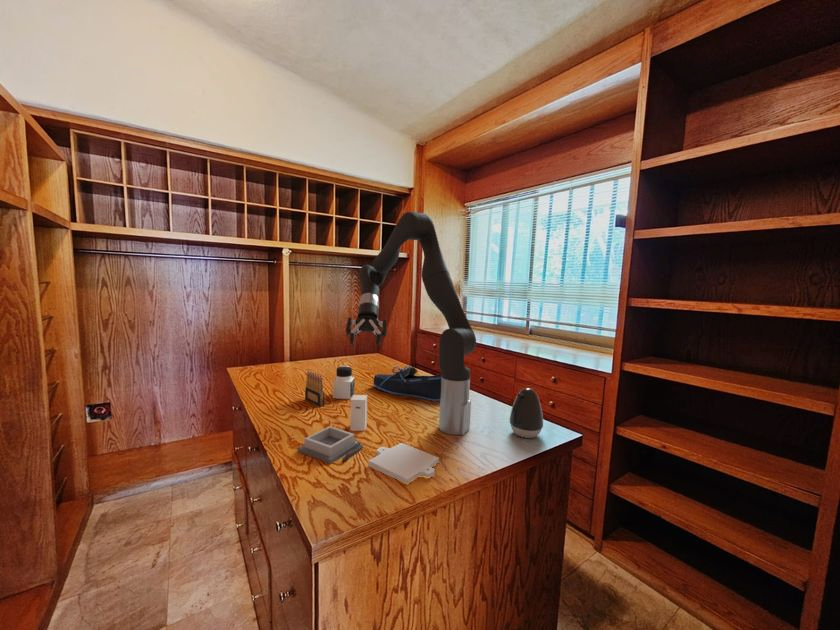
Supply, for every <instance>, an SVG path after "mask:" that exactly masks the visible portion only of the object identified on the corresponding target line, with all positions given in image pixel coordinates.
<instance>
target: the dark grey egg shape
mask: <svg viewBox="0 0 840 630" xmlns="http://www.w3.org/2000/svg"><path fill="white" fill-rule="evenodd" d="M509 424H510V427H511V430H512V431H513V432H514V434H515V435H517V436H519V437H520V436H521V438H523V437H525V439H532V438H536V437H537V436H538V435H539V434H540V433H541V432H542V430H543V427H544V414H543V410H542V405H541V402H540V398H539V396H538V394H537V392H536V391H535V390H534V389H533V388H531V387H524V388H522V389H520V391H519V392H518V393H517V395H516V397H515V399H514V401H513V404H512V407H511V410H510V415H509Z"/></svg>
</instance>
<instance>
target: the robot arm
mask: <svg viewBox="0 0 840 630" xmlns="http://www.w3.org/2000/svg"><path fill="white" fill-rule="evenodd" d="M408 240H409V241H410V240H412V241H419V245H420V246H421V249H422V251H423V262H422V267H421V268H422V269H421V280H422V283H423V285H424V289H425V291H426V293H427V297H428V298H429V300H430V301H431V302H432V303H433V305H435V307H436V308H437V309H438V310H439V311H440V312H441V314H442V316H443V317H444V319H445V321H446V323H447V326H448V328H446V329H445V330H444V331H442V333H441V335H440V338H439V341H438V365H439V369H440V372H441V373H440V375H441V393H440V401H439V419H438V420H439V421H438V423H439V424H438V429H439V431H440V432H442V433H445V434H447V435H451V436H452V435H453V436H454V435H455V436H456V435H459V436H464V435H465V434H466V433H467V432H468V431H469V430H470V429H471V409H472V408H471V407H472V400H470V388H471V387H470V386H471V370H470V368H468V367H466V366H465V356H466V355H469V354H471V353H473V352H474V351H475V349H476V346H477V337H476V335H475V331H474V329H473V327H472V326H471V324H470V321H469V319H468V318H467V316H466V313H465V310H464V309H463V307H462V303H461V301H460V299H459V296H458V293H457V291H456V288H455V286H454V282H453V280H452V276H451V274H450V271H449V269H448V267H447V264H446V261H445V259H444V256H443V255H444V254H443V252H442V249H441V246H440V242H439V238H438V235H437V232H436V228H435V224H434V221H433V219H432V217H431V216H430V215H429V214H428V213H423V212H417V211H407V212H404V213H403V214H402V215H401V216H400V218H399V220H398V221H397V223H396V225H395V227H394V228H393V231H392V232H391V234H390V236H389V238H388V240H387V241H386V244H385V245H384V247H383V248H382V249H381V251H379V252H378V254H377V255H376V257H375V258H374V259H373V261H372V265H370V264H364V265H362V266H361V267H360V268H359V271H358V281H359V285H360V297H359V302H358V307H357V309H358V310H357V318H356V319H352V317H348V319H347V323H346V327H345V334H346V336H349V344H351V346H354V344H355V338H356V335H357V334H359V333H360V332H368V333H371V332H372V333H373V334H374V335H375V336H376V340H375V341H376V343H375V347H379V346H380V345H381V341H382V340H381V339H382V337H384V338H385V337H386V336H387V320H386V319H385V318H384V319H383V320H379V310H380V300H379V299H380V288H379V287H381V286H382V285H383V284H384V282H385V279H386V277H387V274H388V273H389V271H390V270H391V269H392V268H393V267H394V265H395V264H396V263H397V262H398V260H399V257H400V249H401V247H402V245H404V244H405V243H406V242H407V241H408ZM354 325H355V326H354ZM352 326H354V327H353V328H352ZM378 326H380V327H381V328H382V331H381V330H380V329H379V328H378Z"/></svg>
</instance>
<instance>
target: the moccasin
mask: <svg viewBox="0 0 840 630" xmlns="http://www.w3.org/2000/svg"><path fill="white" fill-rule="evenodd" d="M395 369H398V371H395ZM391 373H393V374H389V373H388V374H385V373H383V374H382V373H379V374H375V375H374V377H373V387H375V388H377V389H379V390H381V391H383V392H386V393H389V394H392V395H398V396H406V397H414V398H420V399H423V400H428V401H431V400H432V401H431V402H440V393H441V374H437V375H416V374H417V373H418V370H417V368H415V367H413V366H411V365H409V364H408V365H406V366H404V367H403V368H400V367H399V366H394V367H393V368H392V370H391Z"/></svg>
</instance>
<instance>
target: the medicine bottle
mask: <svg viewBox="0 0 840 630" xmlns="http://www.w3.org/2000/svg"><path fill="white" fill-rule="evenodd" d="M335 375H336V378H335V379H334V380H333V381H332V399H334V398H336V399H337V400H341V399H342V400H351V398H352V397H353V395H355V382H356V380H355V376H352V375H353V368H352V367H351V366H348V365H342V366H341V365H340V366H339V367H337V368H336V374H335Z"/></svg>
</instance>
